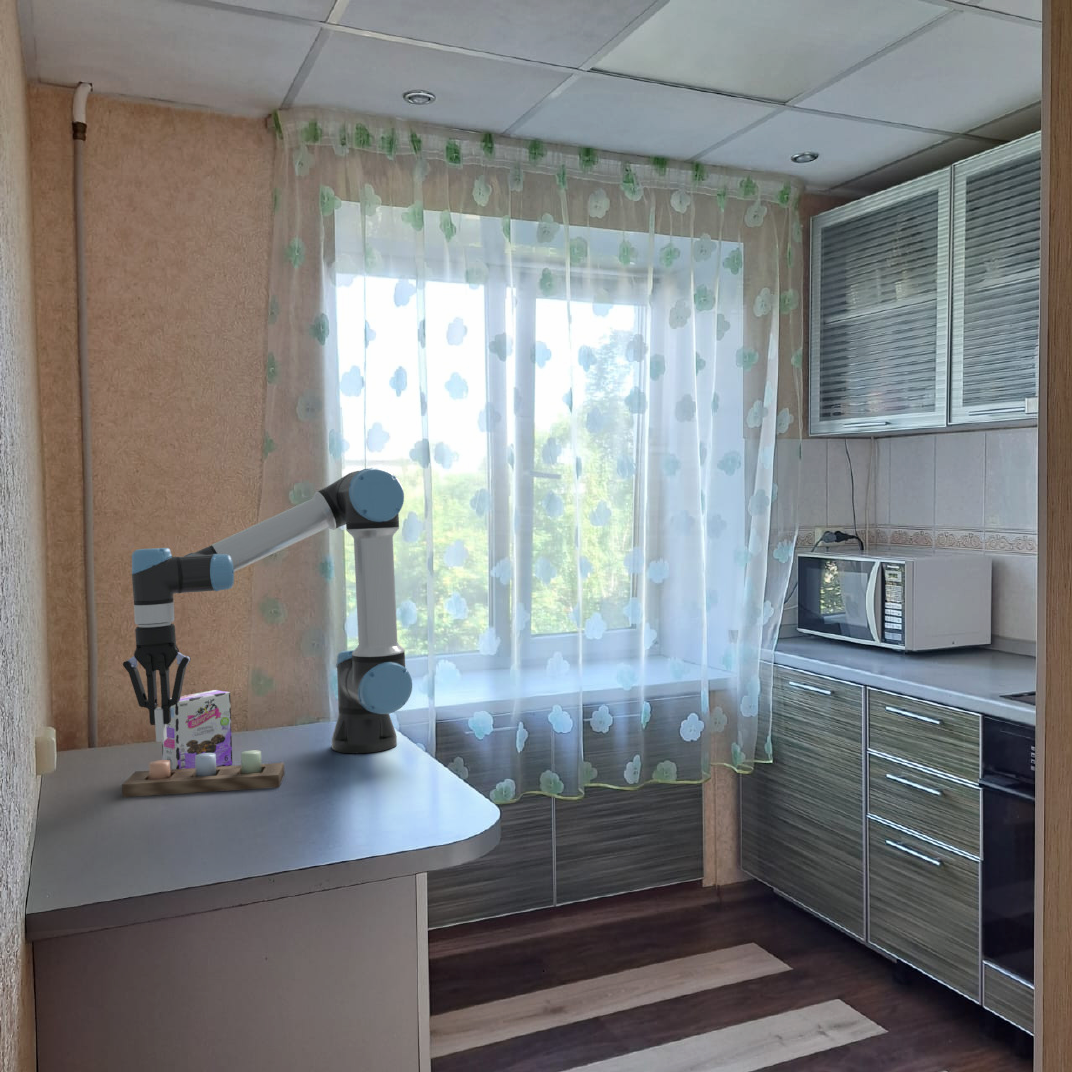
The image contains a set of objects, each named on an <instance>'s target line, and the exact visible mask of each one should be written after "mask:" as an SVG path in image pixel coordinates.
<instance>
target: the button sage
mask: <svg viewBox="0 0 1072 1072" xmlns="http://www.w3.org/2000/svg"><path fill="white" fill-rule="evenodd" d="M261 764H262V751H261V750H255V749H254V750H253V749H251V750H245V751H241V753H240V765H241V773H242V774H251V773H260V772H261V771H262V767H261Z"/></svg>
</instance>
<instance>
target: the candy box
mask: <svg viewBox="0 0 1072 1072" xmlns="http://www.w3.org/2000/svg"><path fill="white" fill-rule="evenodd" d="M170 699H172V697H170ZM160 702H161V703H160V705H161V706H162V701H161V700H160ZM231 703H232V702H231V692H230V691H225V690H218V689H212V690H208V691H201V692H196V693H192V694H185V695H181V696H180V701H179V702H178V703H177V704H175V705H173V706H171V708H170V709H171V722H170V723H169V724H166V730H167V739H166V740H165V741H164V742H161V745H162V746H161V748H162V751H161V752H162V756H161V757H162V758H161V760H169V761H170V769H187V768H195V756H196V755H198V754H202V753H215V754H216V767H221V766H233V742H232V741H233V739H232V738H233V736H232V711H231V709H232V707H231ZM161 706H160V707H161Z"/></svg>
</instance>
